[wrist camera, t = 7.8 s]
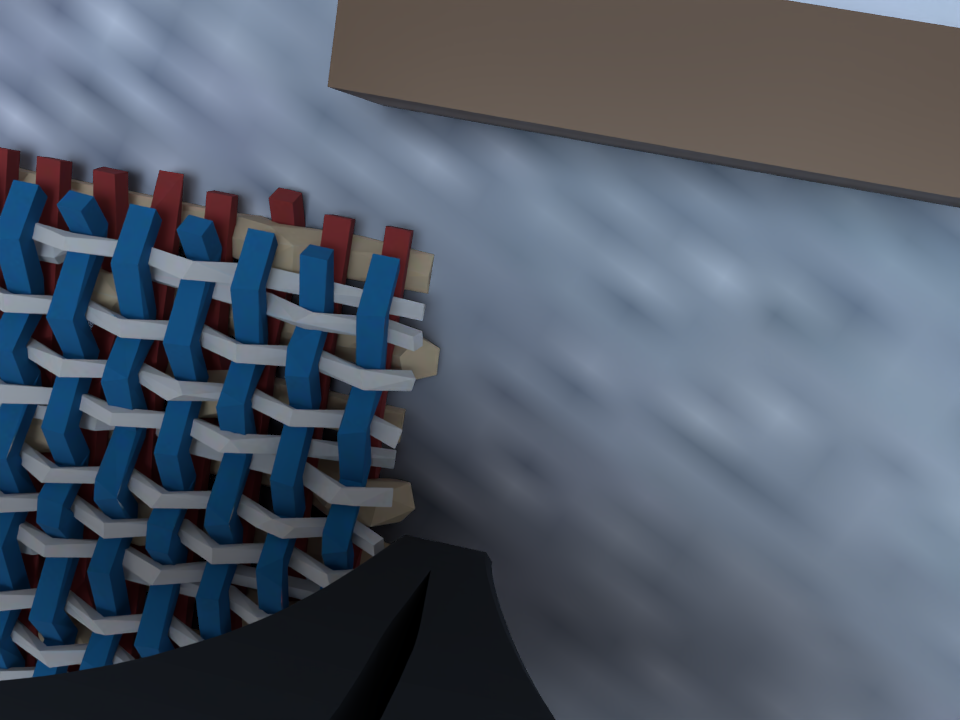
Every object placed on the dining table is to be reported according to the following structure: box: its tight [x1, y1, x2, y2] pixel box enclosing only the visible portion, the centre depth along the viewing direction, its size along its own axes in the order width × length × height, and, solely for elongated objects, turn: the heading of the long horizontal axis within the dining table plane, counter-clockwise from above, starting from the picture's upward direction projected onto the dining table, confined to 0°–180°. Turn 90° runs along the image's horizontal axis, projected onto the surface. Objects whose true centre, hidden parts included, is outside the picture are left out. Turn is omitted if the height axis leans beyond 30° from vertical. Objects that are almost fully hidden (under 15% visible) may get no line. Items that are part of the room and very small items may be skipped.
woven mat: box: [0, 147, 440, 681], centre depth 12 cm, size 10×11×2 cm
